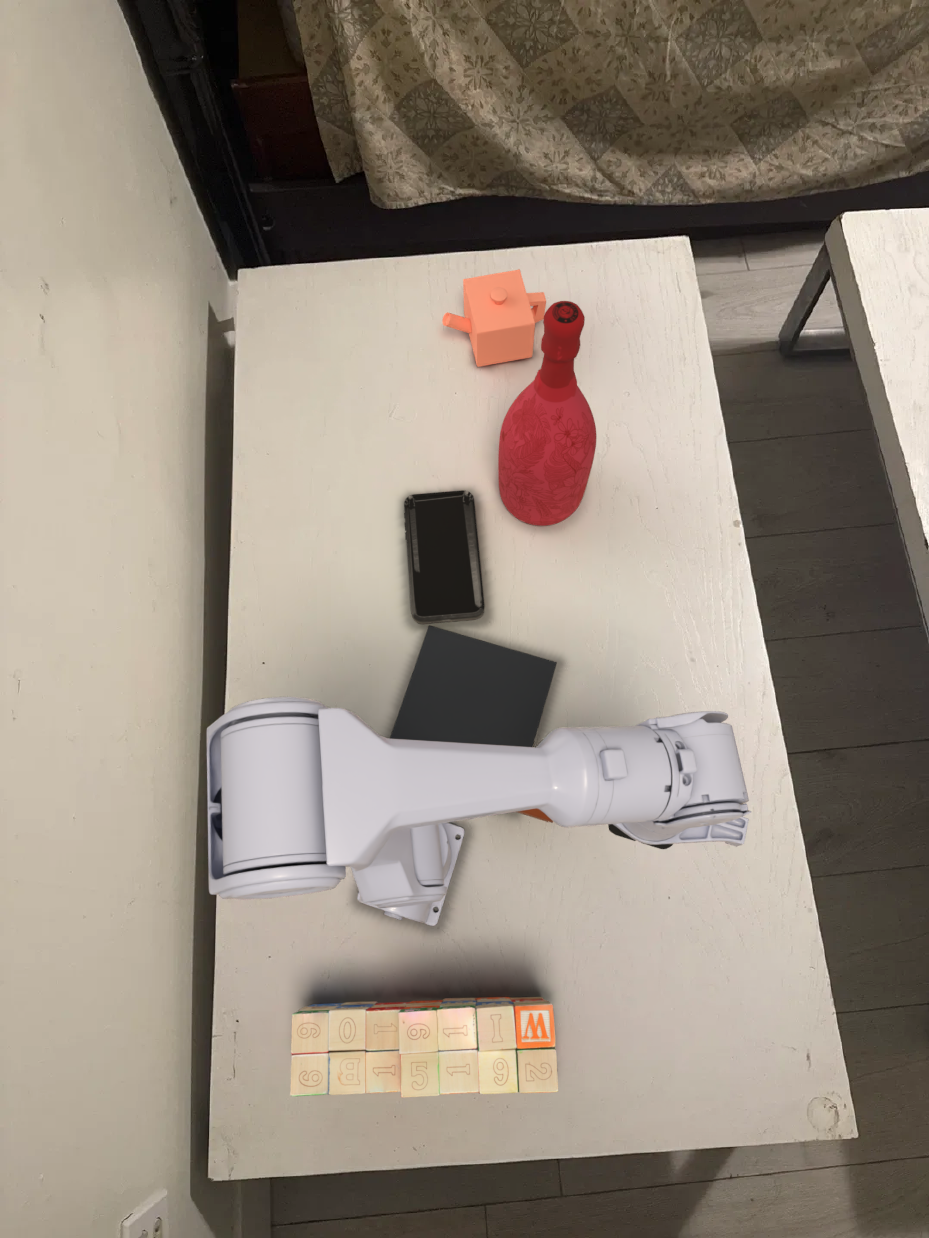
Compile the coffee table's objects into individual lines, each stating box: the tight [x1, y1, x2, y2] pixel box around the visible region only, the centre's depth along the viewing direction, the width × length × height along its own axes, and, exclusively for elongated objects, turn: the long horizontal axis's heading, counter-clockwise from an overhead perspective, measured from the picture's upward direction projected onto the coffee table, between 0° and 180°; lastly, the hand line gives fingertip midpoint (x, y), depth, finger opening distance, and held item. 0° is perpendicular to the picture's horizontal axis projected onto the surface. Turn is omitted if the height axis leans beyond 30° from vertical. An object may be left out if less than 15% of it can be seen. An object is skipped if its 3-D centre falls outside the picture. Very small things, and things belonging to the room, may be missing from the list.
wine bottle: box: [497, 300, 597, 527], centre depth 84 cm, size 10×10×30 cm
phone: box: [403, 489, 485, 625], centre depth 95 cm, size 8×1×15 cm
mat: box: [389, 624, 557, 747], centre depth 89 cm, size 16×14×1 cm
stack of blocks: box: [289, 996, 559, 1099], centre depth 73 cm, size 21×6×12 cm, turn 92°
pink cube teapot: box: [441, 268, 547, 368], centre depth 101 cm, size 8×12×8 cm, turn 101°
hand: (632, 818), depth 75 cm, fingers closed
